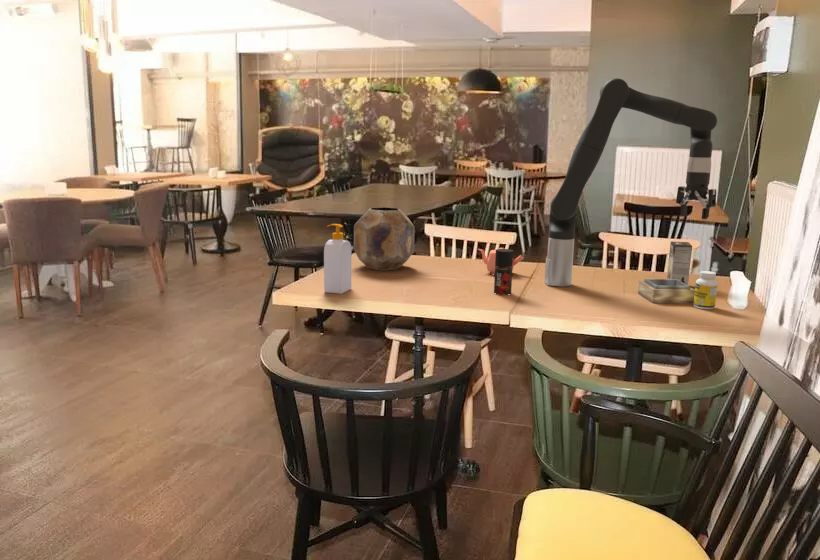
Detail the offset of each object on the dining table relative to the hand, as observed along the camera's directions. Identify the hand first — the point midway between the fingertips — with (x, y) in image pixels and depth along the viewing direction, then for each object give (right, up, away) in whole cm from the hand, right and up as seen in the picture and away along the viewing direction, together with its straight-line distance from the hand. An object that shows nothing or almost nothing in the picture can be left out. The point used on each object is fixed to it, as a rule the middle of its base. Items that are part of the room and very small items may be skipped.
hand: (693, 217), depth 237 cm
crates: (-12, -28, -5) cm, 31 cm away
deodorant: (-67, -26, -2) cm, 72 cm away
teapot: (-64, -19, +32) cm, 74 cm away
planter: (-110, -17, +39) cm, 118 cm away
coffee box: (0, -24, +14) cm, 28 cm away
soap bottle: (-124, -26, -3) cm, 127 cm away
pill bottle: (-4, -31, -17) cm, 35 cm away
